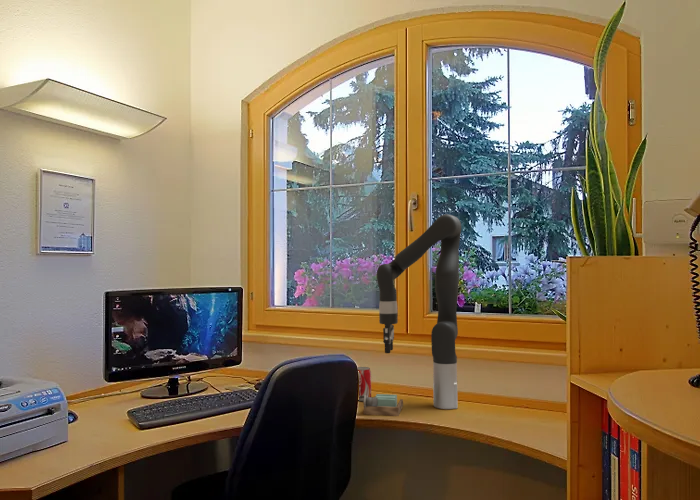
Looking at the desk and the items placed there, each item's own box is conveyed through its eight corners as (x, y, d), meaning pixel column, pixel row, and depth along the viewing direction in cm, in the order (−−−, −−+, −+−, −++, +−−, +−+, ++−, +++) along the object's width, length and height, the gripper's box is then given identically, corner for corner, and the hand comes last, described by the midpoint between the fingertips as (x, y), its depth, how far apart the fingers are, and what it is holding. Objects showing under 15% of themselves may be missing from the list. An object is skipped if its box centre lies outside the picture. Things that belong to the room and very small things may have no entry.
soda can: (351, 401, 224) (351, 369, 224) (356, 397, 231) (356, 366, 231) (368, 402, 222) (368, 370, 222) (373, 398, 229) (372, 366, 229)
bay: (402, 405, 216) (402, 388, 216) (397, 417, 200) (397, 398, 200) (366, 404, 219) (366, 386, 219) (358, 415, 203) (358, 396, 203)
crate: (396, 404, 219) (396, 394, 219) (395, 410, 211) (394, 398, 211) (377, 404, 220) (377, 393, 220) (374, 409, 212) (374, 398, 212)
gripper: (395, 313, 218) (395, 354, 218) (399, 310, 232) (400, 349, 232) (376, 313, 220) (377, 354, 219) (381, 310, 234) (382, 349, 233)
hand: (389, 351), depth 226 cm, fingers open, 8 cm apart
